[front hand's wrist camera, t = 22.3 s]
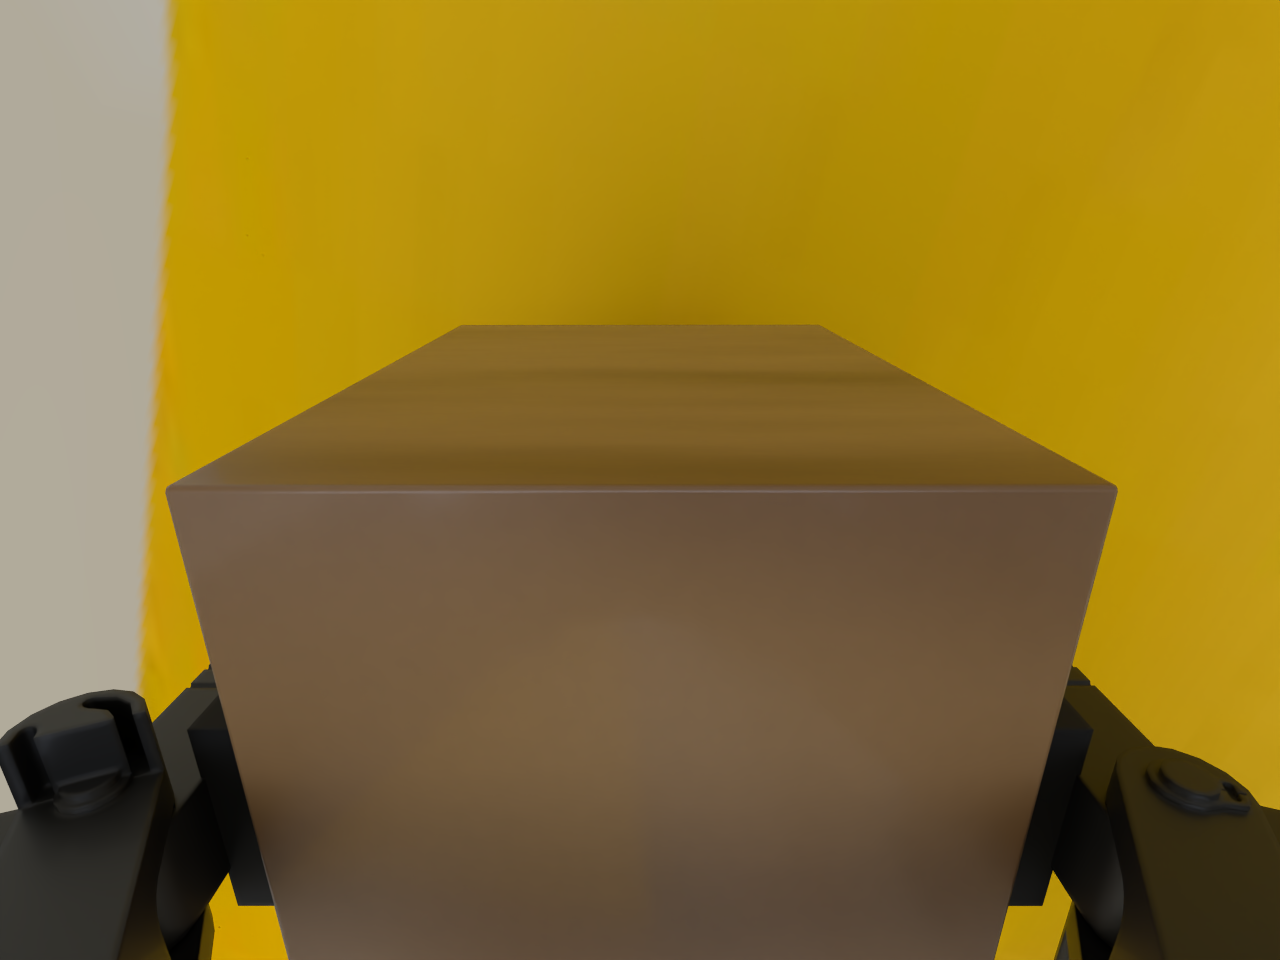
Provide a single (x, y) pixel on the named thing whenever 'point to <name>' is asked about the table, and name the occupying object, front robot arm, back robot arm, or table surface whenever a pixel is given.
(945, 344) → the table surface
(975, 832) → the block
